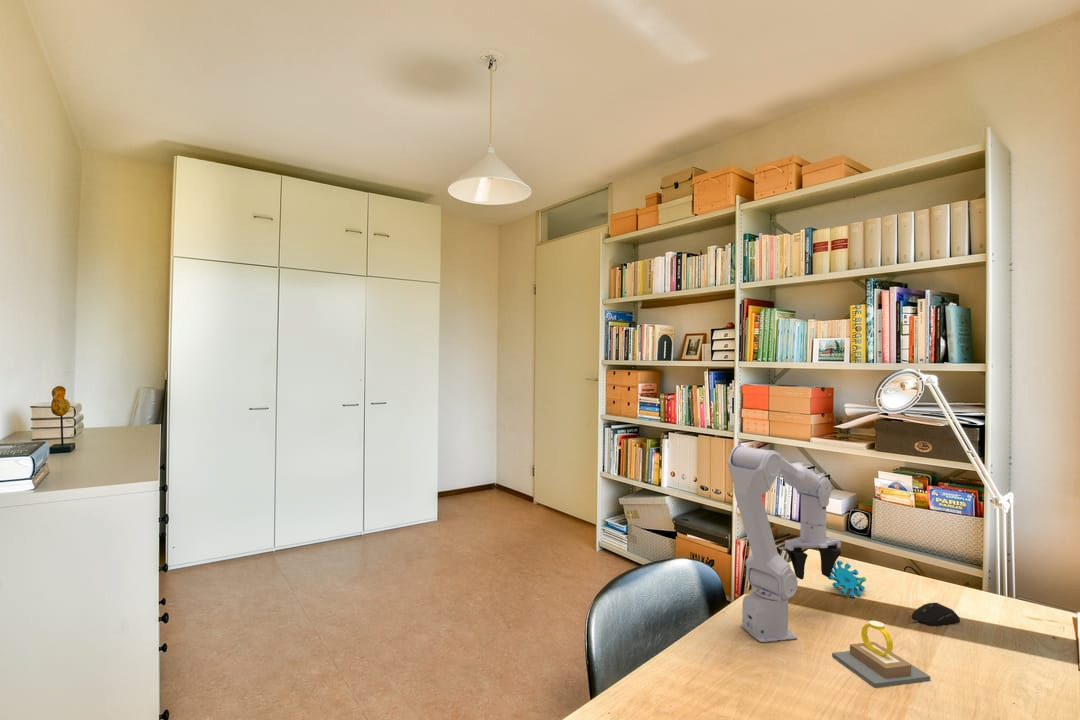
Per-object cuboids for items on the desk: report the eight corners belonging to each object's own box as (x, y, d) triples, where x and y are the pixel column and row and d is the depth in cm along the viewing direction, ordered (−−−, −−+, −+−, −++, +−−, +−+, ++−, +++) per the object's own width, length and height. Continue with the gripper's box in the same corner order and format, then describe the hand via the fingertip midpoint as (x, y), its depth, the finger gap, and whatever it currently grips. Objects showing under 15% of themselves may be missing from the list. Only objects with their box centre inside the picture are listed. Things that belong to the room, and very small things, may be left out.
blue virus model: (837, 593, 140) (824, 557, 147) (825, 602, 144) (813, 566, 151) (875, 598, 141) (861, 562, 148) (862, 606, 145) (849, 571, 152)
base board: (874, 687, 101) (874, 672, 101) (832, 656, 112) (832, 642, 112) (930, 680, 104) (930, 665, 104) (883, 650, 115) (883, 637, 115)
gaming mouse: (896, 619, 130) (896, 602, 130) (940, 612, 134) (940, 596, 134) (921, 631, 124) (921, 614, 124) (966, 623, 128) (966, 607, 128)
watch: (859, 647, 111) (857, 618, 111) (868, 645, 112) (867, 616, 112) (886, 660, 105) (884, 629, 106) (896, 658, 106) (894, 627, 107)
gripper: (798, 528, 126) (798, 585, 126) (850, 525, 129) (850, 581, 129) (779, 520, 133) (779, 573, 133) (829, 517, 136) (828, 570, 136)
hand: (812, 576), depth 131 cm, fingers open, 7 cm apart
